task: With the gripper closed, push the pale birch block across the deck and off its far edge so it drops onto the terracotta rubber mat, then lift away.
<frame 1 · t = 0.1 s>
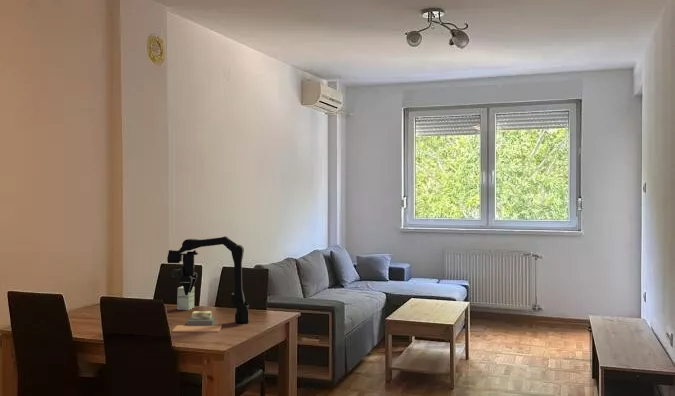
hand: (188, 293, 315), 14 cm above the table, tool pointing down, fingers open, 9 cm apart
mat: (197, 329, 298), on the table
birch block: (201, 315, 310), point 4 cm above the table, touching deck
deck: (201, 324, 309), on the table
supplement box: (185, 309, 350), on the table
emblem: (142, 317, 328), on the table
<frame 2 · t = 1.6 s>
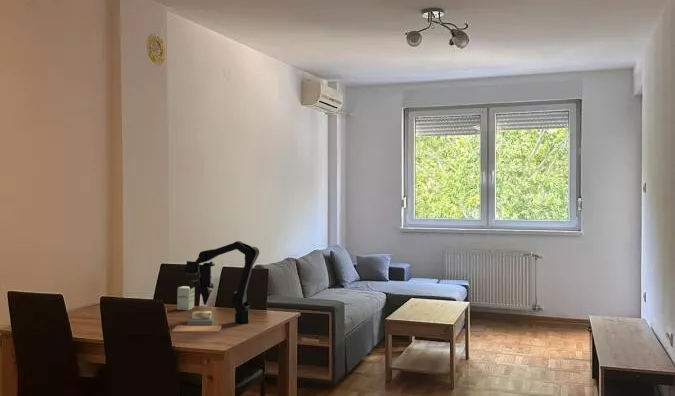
hand: (205, 304, 319), 8 cm above the table, tool pointing down, fingers closed
nothing on the table moved.
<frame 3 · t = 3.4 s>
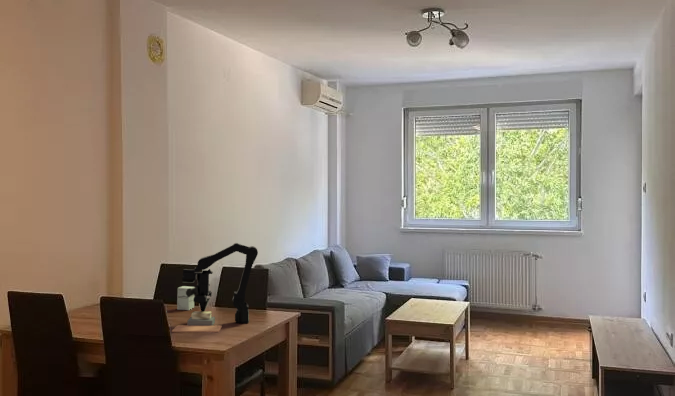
hand: (202, 313, 313), 5 cm above the table, tool pointing down, fingers closed
nothing on the table moved.
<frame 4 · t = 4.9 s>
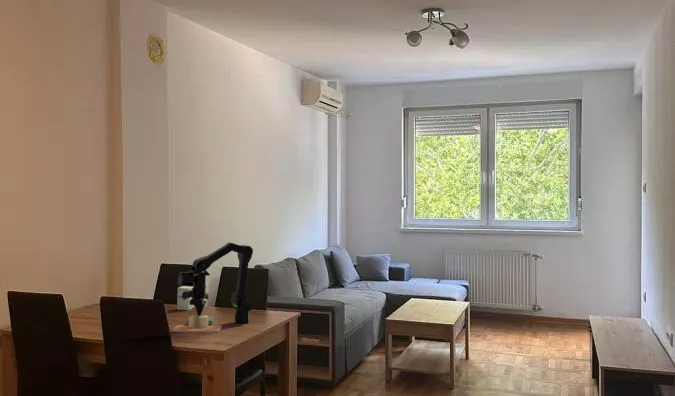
hand: (199, 316, 303), 5 cm above the table, tool pointing down, fingers closed
birch block: (198, 321, 301), point 3 cm above the table, tilted 97°, touching gripper, mat
everything else where it was.
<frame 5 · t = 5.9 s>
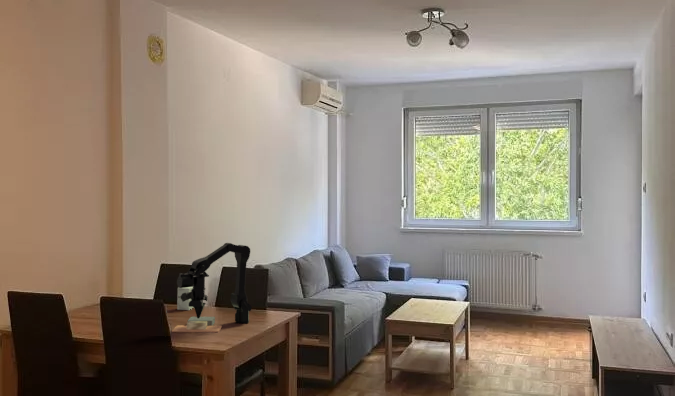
hand: (198, 318, 300), 5 cm above the table, tool pointing down, fingers closed
birch block: (197, 325, 297), point 2 cm above the table, tilted 180°, touching mat
everything else where it was.
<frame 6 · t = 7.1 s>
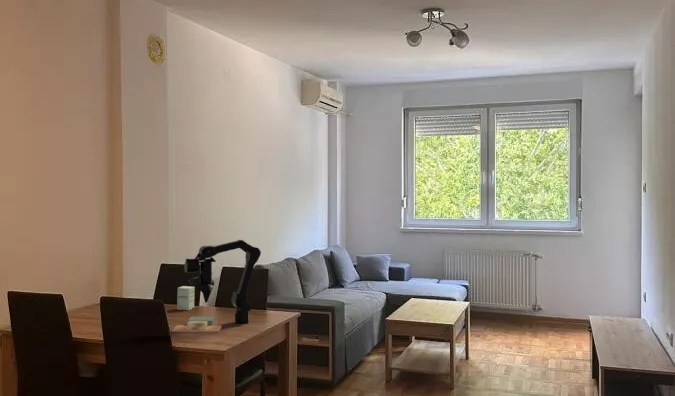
hand: (206, 302, 307), 12 cm above the table, tool pointing down, fingers closed
nothing on the table moved.
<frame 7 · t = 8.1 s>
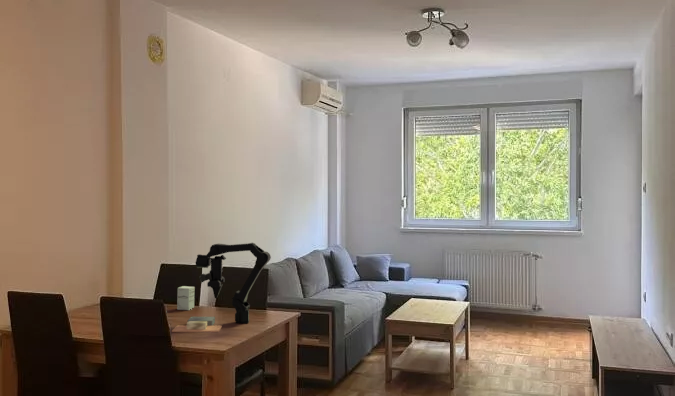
hand: (215, 298, 317), 12 cm above the table, tool pointing down, fingers closed
nothing on the table moved.
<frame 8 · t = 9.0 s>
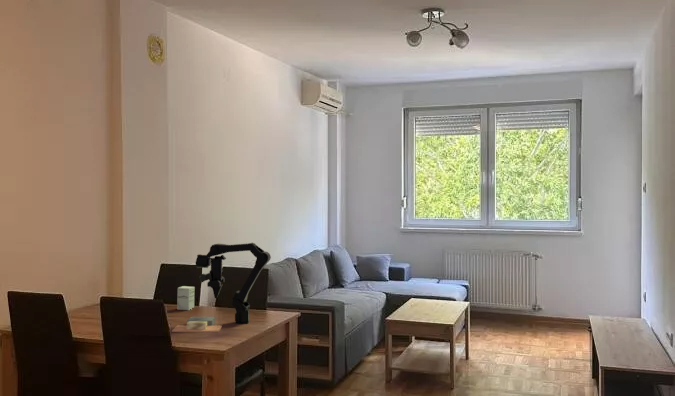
hand: (215, 298, 317), 12 cm above the table, tool pointing down, fingers closed
nothing on the table moved.
at the end: birch block point 2.1 cm above the table; birch block inside the target area (0.6 cm from its centre), point 2.1 cm above the table; birch block touching mat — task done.
